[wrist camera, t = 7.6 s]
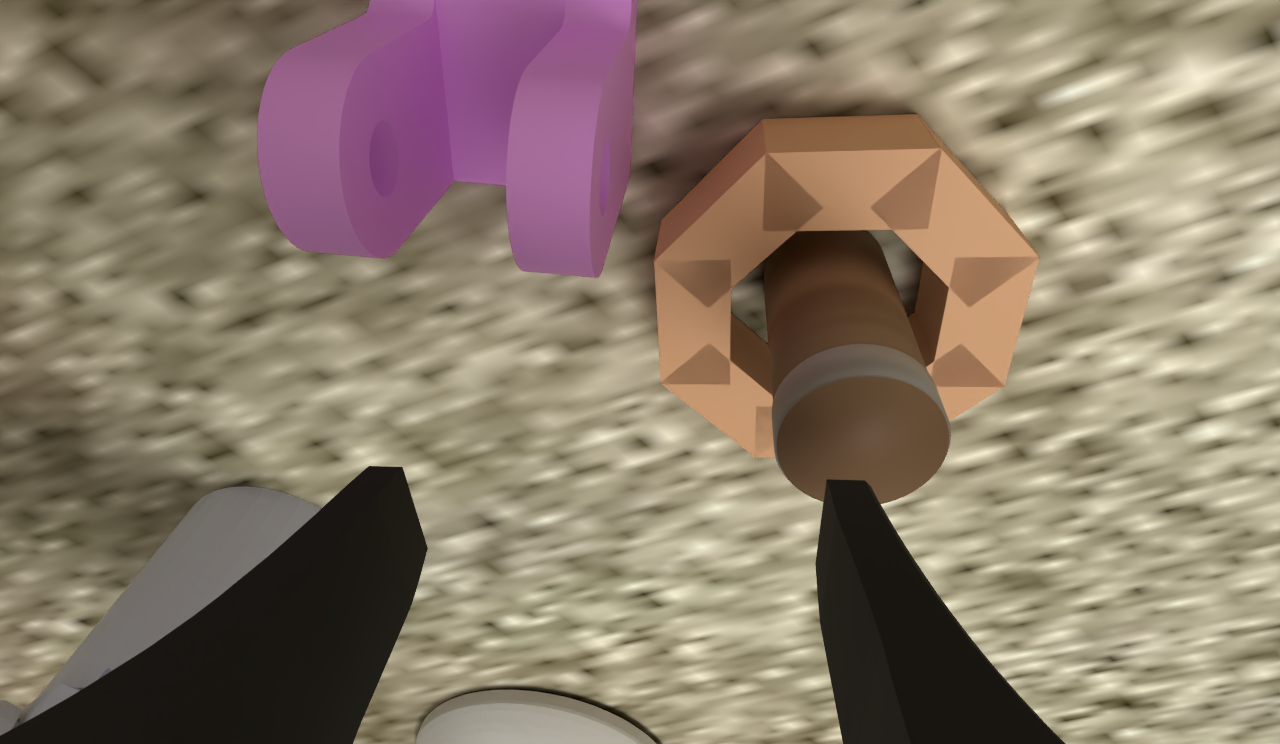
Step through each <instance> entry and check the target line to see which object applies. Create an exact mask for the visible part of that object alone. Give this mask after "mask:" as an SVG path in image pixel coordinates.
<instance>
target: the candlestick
mask: <svg viewBox="0 0 1280 744" xmlns="http://www.w3.org/2000/svg"><path fill="white" fill-rule="evenodd" d="M415 744H656V743H655V742H654V741H653V740H652V739H651V738H650V737H649V736H648V735H646V734H645V733H644V732H642V731H641V730H640V729H638V728H637V727H635V726H634V725H632V724H631V723H629V722H627V721H626V720H624V719H622V718H620V717H618V716H616V715H614V714H612V713H610V712H608V711H605V710H603V709H601V708H598V707H596V706H593V705H590V704H588V703H585V702H582V701H578V700H575V699H571V698H568V697H563V696H559V695H554V694H548V693H542V692H536V691H525V690H490V691H481V692H475V693H469V694H465V695H462V696H458V697H456V698H453V699H450V700H448V701H446V702H444V703H442V704H441V705H439V706H437V707H436V708H435V709H433V710H432V711H431V712H430V713H429V714H428V715H427V717H426V718H425V719H424V721H423V723H422V725H421V727H420V730H419V732H418V735H417V738H416V742H415Z"/></svg>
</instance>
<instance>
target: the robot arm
mask: <svg viewBox="0 0 1280 744" xmlns="http://www.w3.org/2000/svg"><path fill="white" fill-rule="evenodd" d="M427 549H428V548H427V545H426V542H425V538H424V535H423V532H422V529H421V526H420V522H419V519H418V516H417V513H416V509H415V506H414V503H413V500H412V497H411V493H410V490H409V487H408V484H407V480H406V477H405V474H404V471H403V468H402V467H378V466H369V467H368V468H366V469H365V470H364V471H363V472H362V473H361V474H359V475H358V476H357V477H356V478H355V479H354V480H353V481H351V482H350V483H349V484H348V485H347V486H346V487H345V488H344V489H343V490H341V491H340V492H339V493H338V494H337V495H336V496H335V497H334V498H333V499H332V500H331V501H329V502H328V503H327V504H326V505H325V506H324V507H323V508H322V509H321V508H319V507H317V506H315V505H313V504H311V503H309V502H307V501H305V500H303V499H300V498H297V497H295V496H292V495H289V494H287V493H284V492H279V491H275V490H271V489H267V488H259V487H249V486H242V487H228V488H224V489H220V490H215V491H213V492H211V493H209V494H207V495H205V496H203V497H202V498H201V499H200V500H199V501H197V502H196V503H195V504H194V505H193V507H192V508H191V509H190V510H189V512H188V513H187V514H186V515H185V517H184V518H183V519H182V520H181V521H180V523H179V524H178V525H177V526H176V528H175V529H174V530H173V531H172V533H171V534H170V535H169V536H168V537H167V539H166V540H165V541H164V542H163V544H162V545H161V546H160V547H159V549H158V550H157V551H156V552H155V554H154V555H153V556H152V557H151V558H150V560H149V561H148V562H147V563H146V565H145V566H144V567H143V568H142V570H141V571H140V572H139V573H138V574H137V576H136V577H135V578H134V579H133V581H132V582H131V583H130V584H129V586H128V587H127V588H126V589H125V591H124V592H123V593H122V594H121V595H120V597H119V598H118V599H117V600H116V602H115V603H114V604H113V605H112V607H111V608H110V609H109V610H108V611H107V613H106V614H105V615H104V616H103V618H102V619H101V620H100V621H99V623H98V624H97V625H96V626H95V627H94V629H93V630H92V631H91V632H90V634H89V635H88V636H87V637H86V639H85V640H84V641H83V642H82V644H81V645H80V646H79V647H78V648H77V650H76V651H75V652H74V653H73V655H72V656H71V657H70V658H69V660H68V661H67V662H66V663H65V664H64V666H63V667H62V668H61V669H60V671H59V672H58V673H57V674H56V676H55V677H54V678H53V679H52V681H51V682H50V683H49V684H48V685H47V687H46V688H45V689H44V690H43V692H42V693H41V694H40V695H39V697H38V698H36V699H35V700H34V701H33V702H32V703H30V704H29V705H28V706H27V707H25V708H24V709H23V710H22V709H20V708H19V707H17V706H15V705H14V704H12V703H10V702H8V701H5V700H2V701H0V744H353V742H354V739H355V736H356V734H357V731H358V729H359V726H360V723H361V721H362V719H363V717H364V714H365V712H366V710H367V707H368V705H369V703H370V700H371V698H372V696H373V693H374V691H375V689H376V687H377V684H378V682H379V680H380V677H381V675H382V673H383V670H384V668H385V666H386V663H387V661H388V659H389V657H390V654H391V652H392V650H393V647H394V645H395V643H396V640H397V638H398V636H399V633H400V631H401V628H402V626H403V624H404V621H405V619H406V617H407V614H408V612H409V609H410V607H411V604H412V602H413V598H414V595H415V592H416V588H417V585H418V582H419V578H420V575H421V571H422V567H423V563H424V560H425V556H426V552H427ZM816 576H817V590H818V603H819V614H820V624H821V630H822V635H823V641H824V646H825V651H826V656H827V662H828V667H829V672H830V677H831V683H832V688H833V693H834V698H835V703H836V709H837V714H838V719H839V724H840V729H841V735H842V740H843V744H1065V743H1064V742H1063V741H1062V740H1061V739H1060V738H1059V737H1058V736H1057V735H1056V734H1055V733H1054V732H1053V731H1052V730H1051V729H1050V728H1049V727H1048V726H1047V725H1046V724H1045V723H1044V722H1043V720H1042V719H1041V718H1040V717H1039V716H1038V715H1037V714H1036V713H1035V712H1034V711H1033V710H1032V709H1031V708H1030V707H1029V705H1028V704H1027V703H1026V702H1025V701H1024V700H1023V699H1022V698H1021V697H1020V696H1019V695H1018V694H1017V692H1016V691H1015V690H1014V689H1013V688H1012V687H1011V686H1010V684H1009V683H1008V682H1007V681H1006V680H1005V679H1004V678H1003V676H1002V675H1001V674H1000V673H999V672H998V671H997V670H996V668H995V667H994V666H993V665H992V664H991V663H990V661H989V660H988V659H987V658H986V657H985V655H984V654H983V653H982V652H981V650H980V649H979V648H978V647H977V645H976V644H975V643H974V642H973V641H972V639H971V638H970V637H969V635H968V634H967V633H966V631H965V630H964V629H963V628H962V626H961V625H960V624H959V622H958V621H957V620H956V618H955V617H954V616H953V615H952V613H951V612H950V611H949V609H948V608H947V606H946V605H945V604H944V602H943V601H942V600H941V598H940V597H939V595H938V594H937V593H936V591H935V590H934V588H933V587H932V585H931V584H930V582H929V581H928V579H927V578H926V577H925V575H924V574H923V572H922V571H921V569H920V568H919V566H918V565H917V563H916V562H915V560H914V559H913V557H912V556H911V554H910V553H909V551H908V550H907V548H906V546H905V545H904V543H903V542H902V540H901V538H900V537H899V535H898V533H897V532H896V530H895V529H894V527H893V525H892V524H891V522H890V520H889V518H888V517H887V515H886V513H885V511H884V510H883V508H882V506H881V504H880V502H879V501H878V499H877V497H876V495H875V493H874V491H873V489H872V487H871V486H870V485H869V484H868V483H867V482H866V481H865V480H833V479H827V480H826V488H825V495H824V503H823V511H822V518H821V526H820V534H819V542H818V549H817V557H816Z"/></svg>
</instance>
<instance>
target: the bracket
mask: <svg viewBox="0 0 1280 744" xmlns="http://www.w3.org/2000/svg"><path fill="white" fill-rule="evenodd" d="M636 19H637V0H370V2H369V7H368V10H367V12H366V13H365V14H364V15H362V16H360V17H357V18H355V19H353V20H351V21H349V22H347V23H345V24H343V25H340V26H338V27H336V28H334V29H332V30H330V31H328V32H325V33H323V34H321V35H319V36H317V37H315V38H313V39H311V40H308V41H306V42H304V43H302V44H300V45H298V46H296V47H294V48H291V49H290V50H288V51H286V52H285V53H284V54H283V55H282V56H281V57H280V58H279V59H278V60H277V62H276V63H275V65H274V66H273V68H272V70H271V72H270V74H269V76H268V78H267V81H266V84H265V86H264V90H263V94H262V97H261V102H260V108H259V115H258V126H257V151H258V163H259V170H260V176H261V181H262V186H263V190H264V194H265V197H266V200H267V203H268V206H269V209H270V211H271V213H272V216H273V218H274V220H275V222H276V224H277V225H278V227H279V229H280V230H281V232H282V233H283V234H284V236H285V237H286V238H287V239H288V240H289V241H290V242H291V243H292V244H293V245H295V246H296V247H297V248H299V249H301V250H304V251H307V252H318V253H329V254H340V255H351V256H362V257H373V258H387V257H389V256H391V255H393V254H394V253H395V252H396V251H397V250H398V249H399V248H400V247H401V245H402V244H403V243H404V242H405V241H406V239H407V238H408V237H409V236H410V234H411V233H412V232H413V231H414V229H415V228H416V227H417V226H418V225H419V223H420V222H421V221H422V220H423V218H424V217H425V216H426V215H427V213H428V212H429V211H430V210H431V209H432V207H433V206H434V205H435V204H436V202H437V201H438V200H439V199H440V198H441V196H442V195H443V194H444V193H445V191H446V190H447V189H448V188H449V186H450V185H451V184H452V183H453V182H454V181H460V182H472V183H484V184H495V185H506V204H507V220H508V230H509V237H510V243H511V248H512V252H513V256H514V259H515V261H516V264H517V265H518V267H519V268H520V269H521V270H522V271H528V272H539V273H550V274H561V275H572V276H583V277H594V278H598V277H599V276H600V274H601V271H602V269H603V265H604V262H605V259H606V255H607V252H608V249H609V245H610V242H611V238H612V235H613V232H614V228H615V225H616V222H617V218H618V215H619V211H620V208H621V205H622V201H623V198H624V195H625V191H626V188H627V185H628V181H629V178H630V162H631V138H632V115H633V91H634V67H635V43H636Z"/></svg>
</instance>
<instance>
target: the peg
mask: <svg viewBox="0 0 1280 744" xmlns="http://www.w3.org/2000/svg"><path fill="white" fill-rule="evenodd" d="M764 292H765V305H766V318H767V331H768V344H769V357H770V370H771V383H772V396H773V403H772V428H773V442H774V453H775V457H776V461H777V463H778V465H779V468H780V469H781V471H782V472H783V474H784V475H785V476H786V478H787V479H788V480H789V481H790V482H791V483H792V484H793V485H794V486H795V487H797V488H798V489H799V490H801V491H802V492H803V493H805V494H807V495H809V496H811V497H812V498H815V499H817V500H820V501H822V502H824V495H825V488H826V480H827V479H833V480H865V481H866V482H867V483H868V484H869V485H870V486H871V487H872V489H873V491H874V493H875V495H876V497H877V499H878V501H879V502H880V504H883V503H887V502H890V501H893V500H896V499H899V498H901V497H904V496H906V495H908V494H910V493H911V492H913V491H915V490H916V489H918V488H919V487H921V486H922V485H924V484H925V483H926V482H927V481H928V480H929V479H930V478H931V477H932V476H933V475H934V474H935V473H936V472H937V470H938V469H939V468H940V466H941V465H942V463H943V461H944V459H945V457H946V455H947V452H948V449H949V446H950V439H951V428H950V423H949V419H948V416H947V414H946V411H945V409H944V406H943V403H942V401H941V398H940V395H939V393H938V390H937V387H936V385H935V383H934V380H933V378H932V377H931V375H930V374H929V372H928V371H927V368H926V366H925V363H924V360H923V358H922V355H921V352H920V350H919V347H918V344H917V342H916V339H915V336H914V334H913V331H912V328H911V326H910V323H909V320H908V318H907V315H906V312H905V309H904V307H903V304H902V301H901V299H900V296H899V293H898V291H897V288H896V285H895V283H894V280H893V277H892V275H891V272H890V269H889V267H888V264H887V261H886V259H885V256H884V253H883V251H882V249H881V247H880V245H879V243H878V242H877V240H876V239H875V238H874V237H873V236H872V235H871V234H870V233H869V232H868V231H866V230H837V231H797V232H795V233H794V234H793V235H792V236H791V237H790V238H788V239H787V240H786V241H785V242H784V243H783V244H782V245H780V246H779V247H778V248H777V249H776V250H775V251H774V252H772V253H771V254H770V255H769V256H768V259H767V261H766V264H765V268H764Z"/></svg>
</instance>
